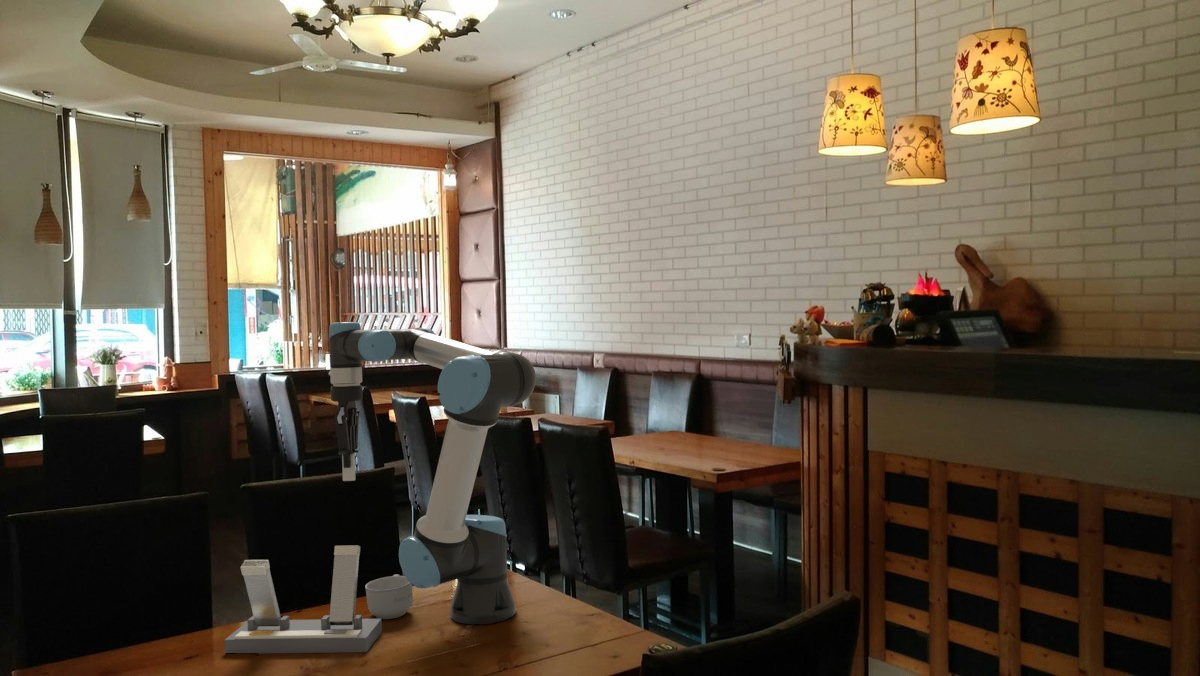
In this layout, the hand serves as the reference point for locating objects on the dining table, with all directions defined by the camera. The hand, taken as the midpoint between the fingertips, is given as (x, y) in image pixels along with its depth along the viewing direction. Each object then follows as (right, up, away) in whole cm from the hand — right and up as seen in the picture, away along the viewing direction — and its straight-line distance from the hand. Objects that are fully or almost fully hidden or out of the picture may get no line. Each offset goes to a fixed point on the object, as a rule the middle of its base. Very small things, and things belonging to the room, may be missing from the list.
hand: (349, 480), depth 219 cm
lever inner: (+6, -26, -27) cm, 38 cm away
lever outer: (-10, -27, -26) cm, 39 cm away
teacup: (+12, -31, -8) cm, 34 cm away
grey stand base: (-2, -31, -26) cm, 41 cm away
